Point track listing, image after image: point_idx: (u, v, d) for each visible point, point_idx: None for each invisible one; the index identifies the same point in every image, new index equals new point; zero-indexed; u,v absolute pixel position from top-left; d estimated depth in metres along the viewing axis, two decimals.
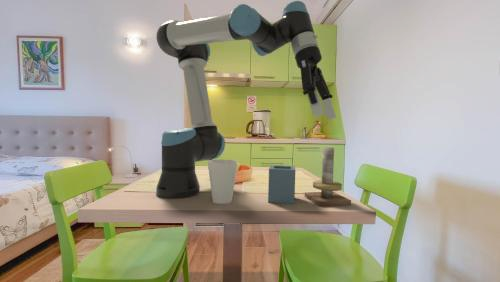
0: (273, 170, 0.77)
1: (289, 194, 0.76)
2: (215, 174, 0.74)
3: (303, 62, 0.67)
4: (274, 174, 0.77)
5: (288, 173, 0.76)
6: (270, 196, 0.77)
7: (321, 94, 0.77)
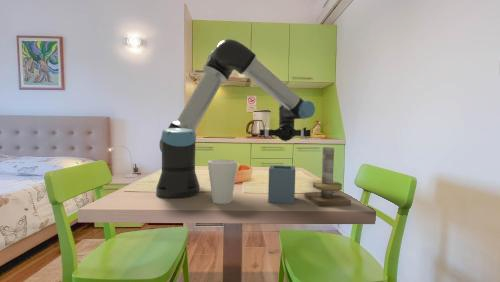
0: (273, 170, 0.77)
1: (289, 194, 0.76)
2: (215, 174, 0.74)
3: None
4: (274, 174, 0.77)
5: (288, 173, 0.76)
6: (270, 196, 0.77)
7: (270, 131, 0.98)
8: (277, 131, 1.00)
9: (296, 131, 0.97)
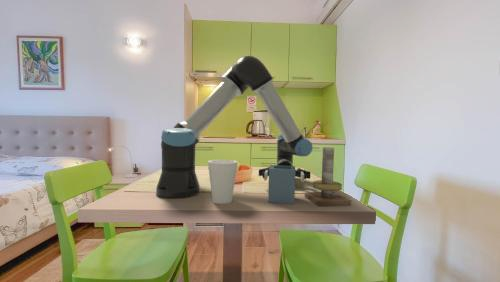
0: (273, 170, 0.77)
1: (289, 194, 0.76)
2: (215, 174, 0.74)
3: None
4: (274, 174, 0.77)
5: (288, 173, 0.76)
6: (270, 196, 0.77)
7: None
8: None
9: (296, 172, 0.95)
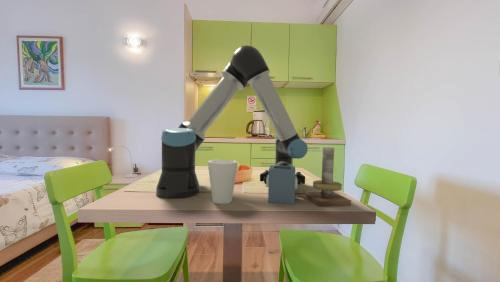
0: (273, 170, 0.77)
1: (289, 194, 0.76)
2: (215, 174, 0.74)
3: None
4: (274, 174, 0.77)
5: (288, 173, 0.76)
6: (270, 196, 0.77)
7: None
8: None
9: None
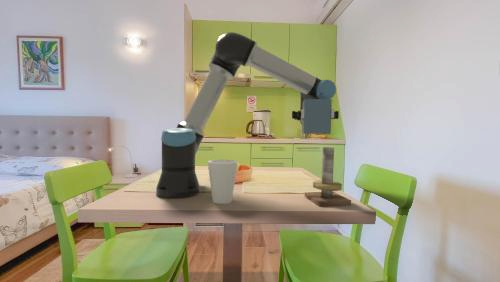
0: (309, 100, 0.76)
1: (325, 124, 0.75)
2: (215, 174, 0.74)
3: None
4: (310, 104, 0.76)
5: (324, 102, 0.75)
6: (305, 127, 0.76)
7: None
8: None
9: None
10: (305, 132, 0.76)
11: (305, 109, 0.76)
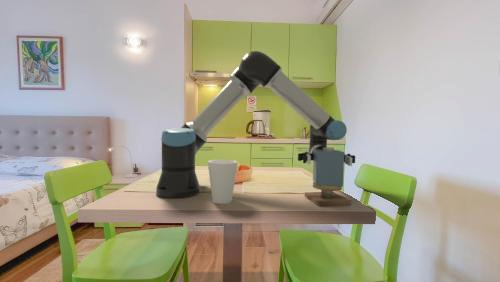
0: (321, 152, 0.76)
1: (337, 176, 0.76)
2: (215, 174, 0.74)
3: None
4: (322, 157, 0.76)
5: (337, 155, 0.76)
6: (318, 179, 0.77)
7: (309, 155, 0.86)
8: None
9: None
10: (317, 184, 0.77)
11: (317, 161, 0.77)
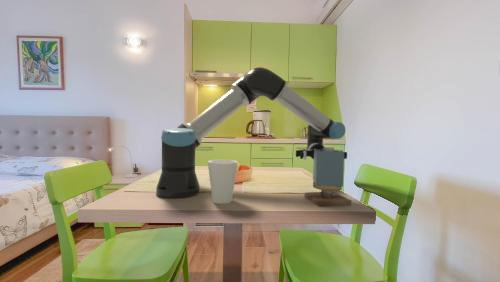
0: (321, 152, 0.76)
1: (337, 176, 0.76)
2: (215, 174, 0.74)
3: None
4: (322, 157, 0.76)
5: (337, 155, 0.76)
6: (318, 179, 0.77)
7: (306, 152, 0.99)
8: (312, 152, 1.02)
9: None
10: (317, 184, 0.77)
11: (317, 161, 0.77)
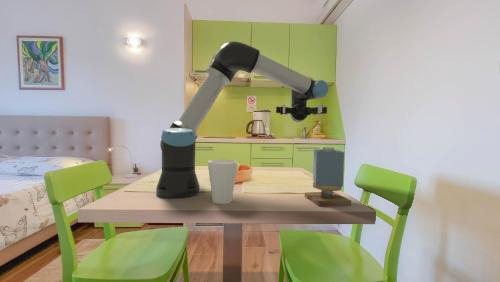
0: (321, 152, 0.76)
1: (337, 176, 0.76)
2: (215, 174, 0.74)
3: None
4: (322, 157, 0.76)
5: (337, 155, 0.76)
6: (318, 179, 0.77)
7: (286, 108, 0.98)
8: (293, 109, 1.01)
9: (312, 109, 0.98)
10: (317, 184, 0.77)
11: (317, 161, 0.77)
